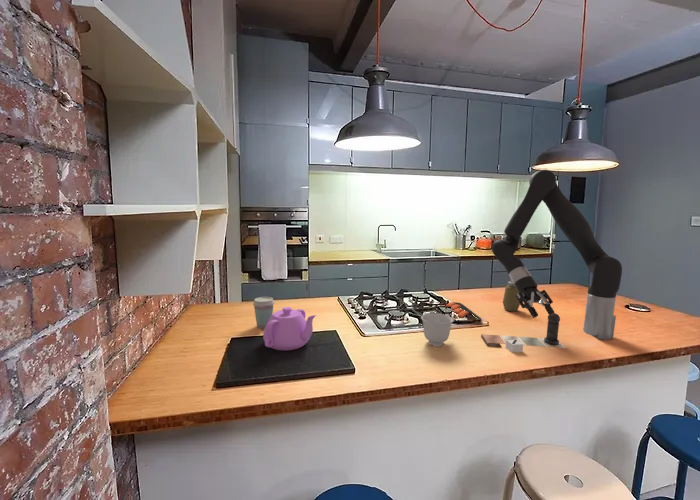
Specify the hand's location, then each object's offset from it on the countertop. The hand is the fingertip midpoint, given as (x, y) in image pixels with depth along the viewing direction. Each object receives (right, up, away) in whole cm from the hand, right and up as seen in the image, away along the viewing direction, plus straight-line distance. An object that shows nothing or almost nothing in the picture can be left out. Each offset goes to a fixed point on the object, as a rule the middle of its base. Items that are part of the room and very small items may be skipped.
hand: (544, 315), depth 131 cm
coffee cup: (-111, -7, +12) cm, 112 cm away
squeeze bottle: (+6, -5, +41) cm, 42 cm away
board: (-9, -11, -1) cm, 14 cm away
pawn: (+1, -10, -2) cm, 10 cm away
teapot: (-97, -10, -6) cm, 97 cm away
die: (-16, -12, -9) cm, 22 cm away
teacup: (-41, -10, -1) cm, 43 cm away
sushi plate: (-31, -6, +34) cm, 46 cm away
